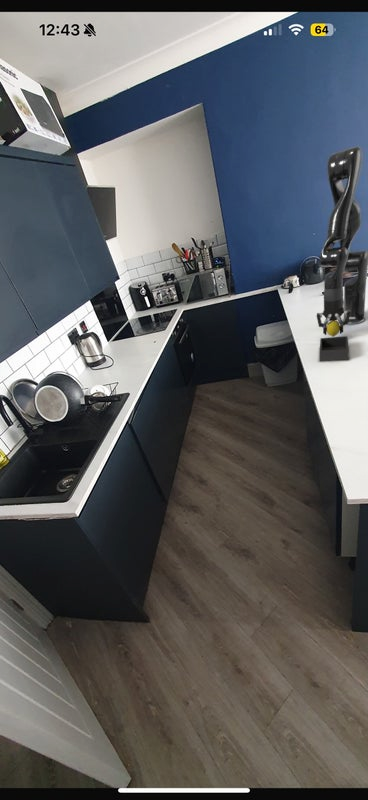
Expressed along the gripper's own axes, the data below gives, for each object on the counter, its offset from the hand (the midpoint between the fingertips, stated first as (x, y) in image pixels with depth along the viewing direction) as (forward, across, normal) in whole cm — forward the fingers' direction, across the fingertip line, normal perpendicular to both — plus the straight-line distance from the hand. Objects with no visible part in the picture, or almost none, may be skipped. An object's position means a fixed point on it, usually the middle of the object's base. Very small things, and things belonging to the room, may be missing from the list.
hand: (333, 333), depth 142 cm
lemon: (+2, 0, 0) cm, 2 cm away
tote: (+4, 0, +12) cm, 13 cm away
